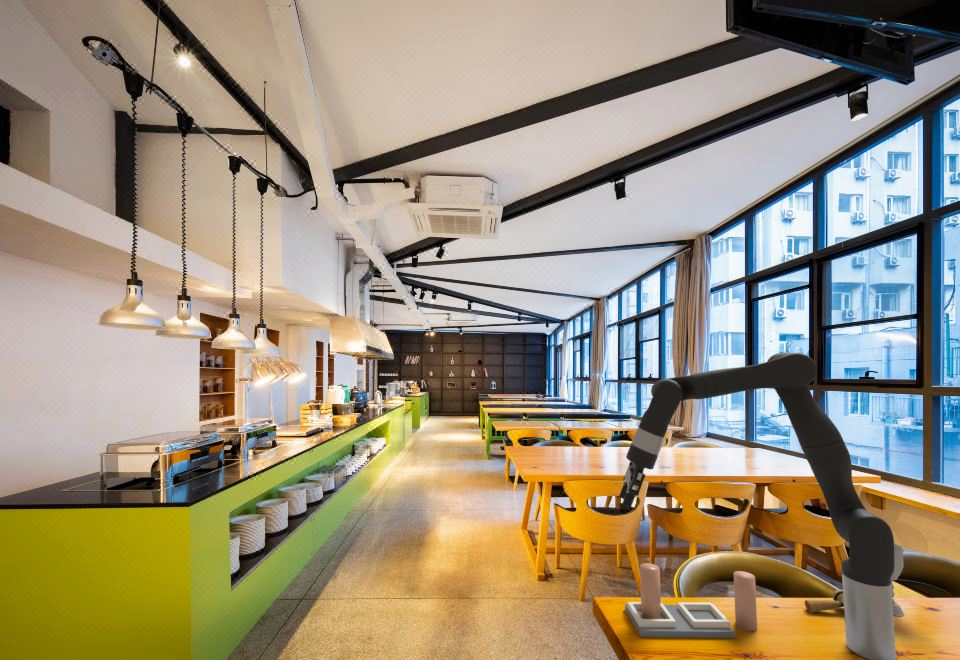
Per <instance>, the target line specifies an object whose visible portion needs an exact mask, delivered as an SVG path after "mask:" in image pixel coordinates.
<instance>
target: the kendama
mask: <svg viewBox="0 0 960 660" xmlns="http://www.w3.org/2000/svg"><path fill="white" fill-rule="evenodd" d="M804 606H805V608H806V610H807V611H808V612H809V613H810V612H811V613H815V612H823V611H831V610H834V609H835V610H836V609H839V608H840V609H841V608H844V598H843V589H840V588H839V589H836V590H835V591H833V593H832V600H827V599H825V600H823V599H822V600H821V599H820V600H819V599H818V600H810V599H806V600H805V601H804Z"/></svg>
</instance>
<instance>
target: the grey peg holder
mask: <svg viewBox="0 0 960 660" xmlns="http://www.w3.org/2000/svg"><path fill="white" fill-rule="evenodd" d="M639 571H640V572H639V573H640V575H639V578H640V601H628V602H627V604H624V611H625V612H626V614H627V616H628V617H629V619H630V621H631V622H632V624H633V626H634V628H635V630H636V631H637V633H638V634H639V636H640V637H641V638H680V639H681V638H688V639H689V638H690V639H695V638H697V639H699V638H700V639H702V638H703V639H704V638H705V639H706V638H707V639H711V638H712V639H715V638H716V639H736V631H735V630H734V629H733V628H732V627H731V621H730V620H729V619H728V618H727V617H726V616H725V614H723V613H722V612H721V611H720V610H719V608H718V607H717V606H716V605H715V604H714V603H712V602H687V601H685V602H683V601H682V602H680V601H679V602H677V604H664V603H663V602H662V601H661V600H662V599H661V571H660V567H659V565H657V564H653V563H650V562H645V563H640V565H639Z"/></svg>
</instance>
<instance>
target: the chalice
mask: <svg viewBox="0 0 960 660" xmlns="http://www.w3.org/2000/svg"><path fill="white" fill-rule="evenodd" d="M905 549H906V548H905V547H904V546H903V545H900V544H897V543H894V572H893V574H892V576H891V591H892V598H894V596H895V595H896V593H895V592H894V588H895V585H894V584H893V581H897V580H898V578H899V577H900V575H901V574H902V572H903V568H904V552H905ZM892 605H893V616H897V617H903V616H905V613H904V611H903V609H902V608H901V605H900V604H899V603H898V602H896V600H895V598H894V599H892Z"/></svg>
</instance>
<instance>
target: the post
mask: <svg viewBox="0 0 960 660" xmlns="http://www.w3.org/2000/svg"><path fill="white" fill-rule="evenodd" d="M733 588H734V589H733V591H734V614H735V615H734V617H735V620H734V621H735V626H737V628H739V629H740V630H744V631H746V632H756V631H757V630H758V617H757V615H758V613H757V593H756V592H757V591H756V576H755V575H754V574H752V573H750V572H747V571H743V570H736V571H734V572H733Z"/></svg>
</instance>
